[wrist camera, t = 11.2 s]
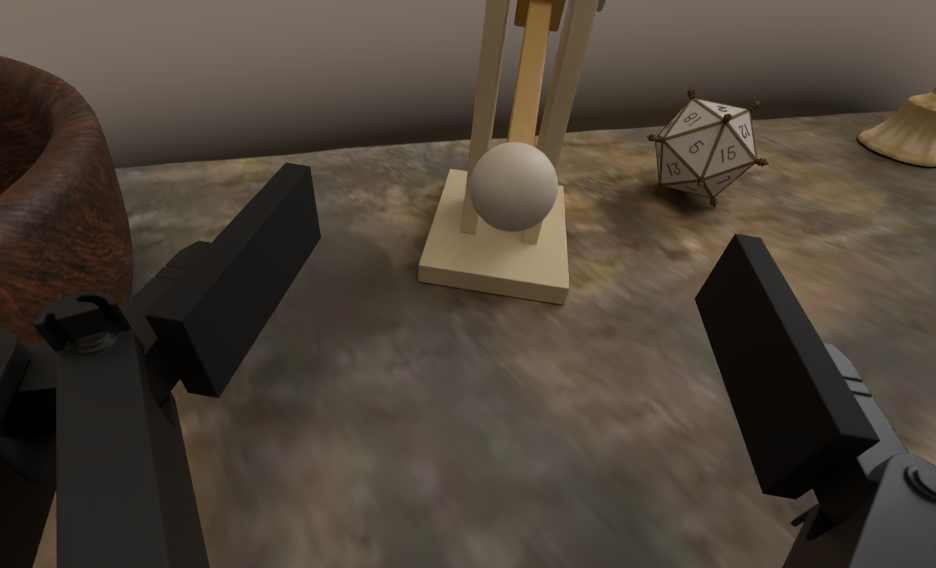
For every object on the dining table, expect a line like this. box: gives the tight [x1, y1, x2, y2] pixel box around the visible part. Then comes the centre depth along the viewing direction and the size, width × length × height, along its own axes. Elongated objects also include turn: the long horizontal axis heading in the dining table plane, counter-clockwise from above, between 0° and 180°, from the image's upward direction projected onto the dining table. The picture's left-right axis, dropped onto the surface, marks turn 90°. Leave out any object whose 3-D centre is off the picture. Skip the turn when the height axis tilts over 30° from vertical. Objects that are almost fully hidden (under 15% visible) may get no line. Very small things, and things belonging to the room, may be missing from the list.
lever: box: [470, 0, 566, 232], centre depth 20 cm, size 14×4×4 cm
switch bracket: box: [418, 0, 605, 305], centre depth 26 cm, size 12×9×17 cm
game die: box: [647, 87, 769, 208], centre depth 37 cm, size 9×8×10 cm
